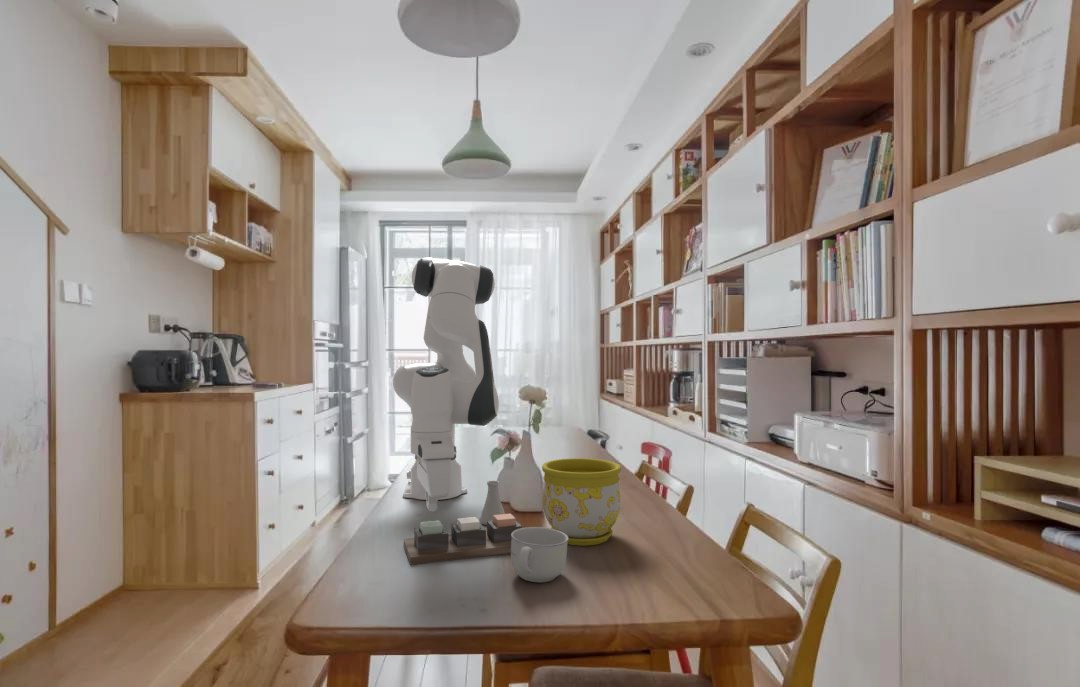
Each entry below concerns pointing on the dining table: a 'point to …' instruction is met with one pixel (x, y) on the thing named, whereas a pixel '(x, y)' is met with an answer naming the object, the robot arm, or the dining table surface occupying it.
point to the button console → (459, 543)
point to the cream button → (468, 524)
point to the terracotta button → (504, 520)
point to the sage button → (430, 527)
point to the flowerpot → (582, 498)
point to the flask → (491, 503)
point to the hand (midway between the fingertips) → (431, 509)
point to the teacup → (538, 553)
